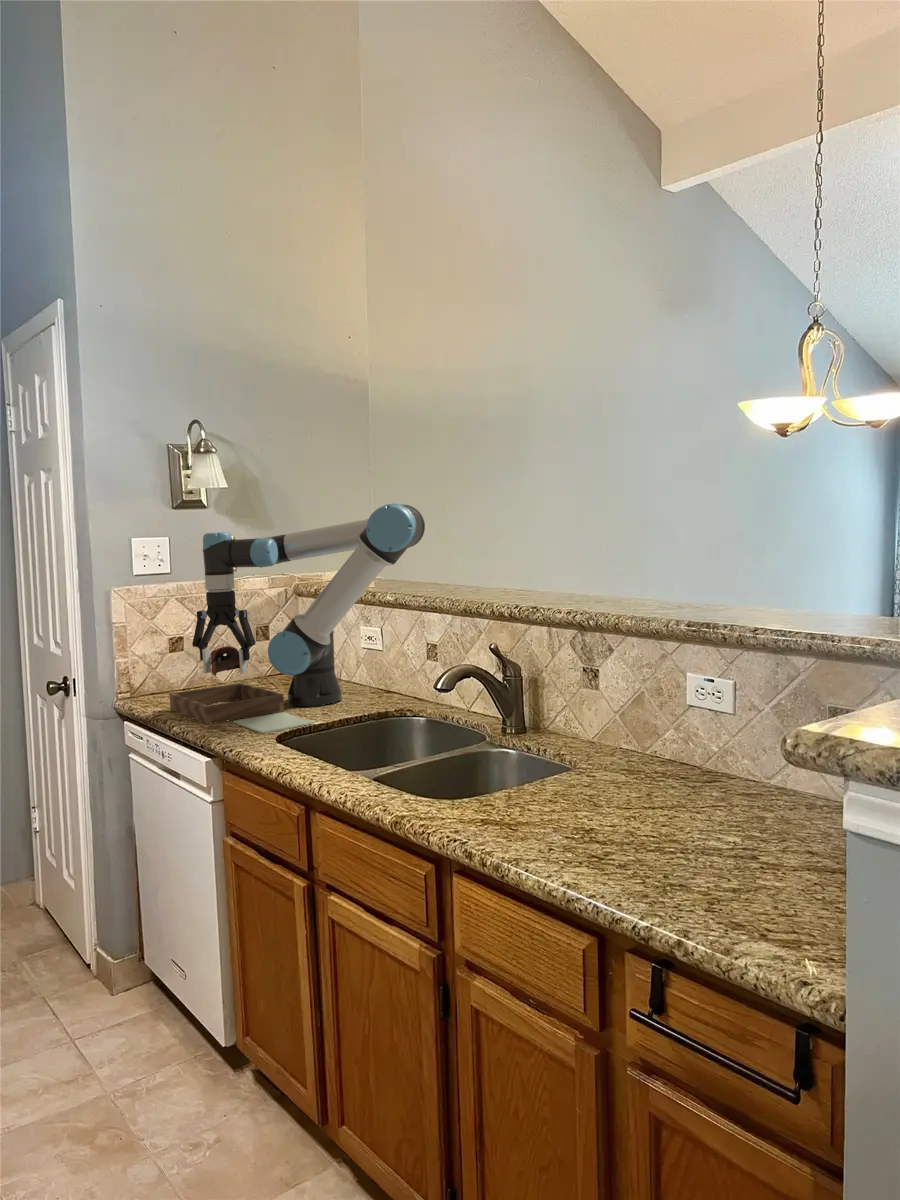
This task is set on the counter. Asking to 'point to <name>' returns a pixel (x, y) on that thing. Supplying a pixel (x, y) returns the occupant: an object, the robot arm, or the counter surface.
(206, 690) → the walnut crate
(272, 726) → the cutting board
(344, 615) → the robot arm
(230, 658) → the pottery mug
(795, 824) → the counter surface
